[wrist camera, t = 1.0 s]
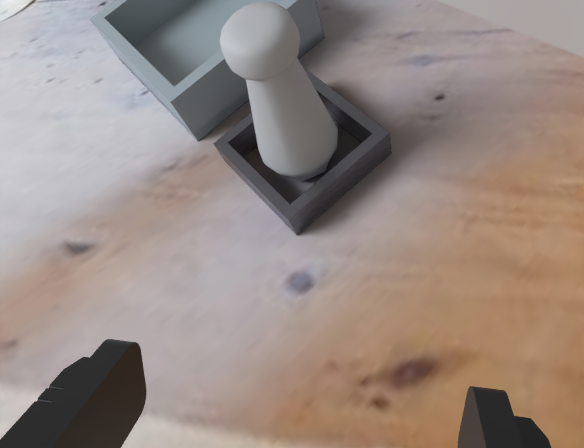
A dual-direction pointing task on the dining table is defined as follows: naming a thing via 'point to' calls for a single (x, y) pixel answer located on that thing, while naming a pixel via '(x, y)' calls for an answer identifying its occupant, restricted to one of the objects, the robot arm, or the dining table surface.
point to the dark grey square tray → (333, 181)
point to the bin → (190, 52)
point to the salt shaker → (279, 91)
